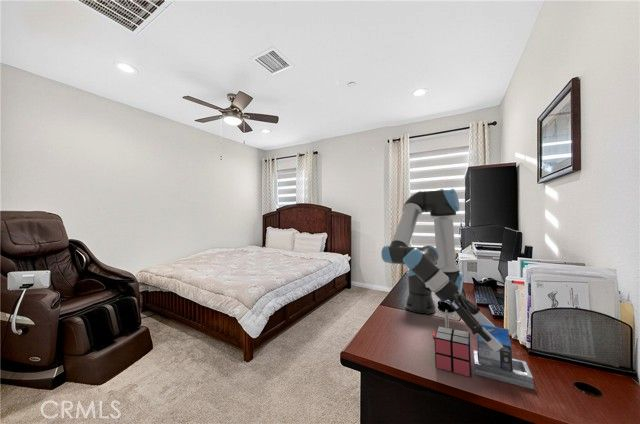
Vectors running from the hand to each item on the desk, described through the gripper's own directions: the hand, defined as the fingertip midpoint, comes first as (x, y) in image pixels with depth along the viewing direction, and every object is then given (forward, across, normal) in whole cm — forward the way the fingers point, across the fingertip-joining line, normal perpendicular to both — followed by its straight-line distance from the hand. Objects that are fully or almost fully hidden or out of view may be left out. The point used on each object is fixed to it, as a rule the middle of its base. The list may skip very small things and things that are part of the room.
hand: (495, 338), depth 77 cm
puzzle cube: (-1, +2, -16) cm, 16 cm away
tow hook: (-3, -16, -19) cm, 25 cm away
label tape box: (+6, 0, -7) cm, 10 cm away
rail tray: (+8, 0, -7) cm, 10 cm away
